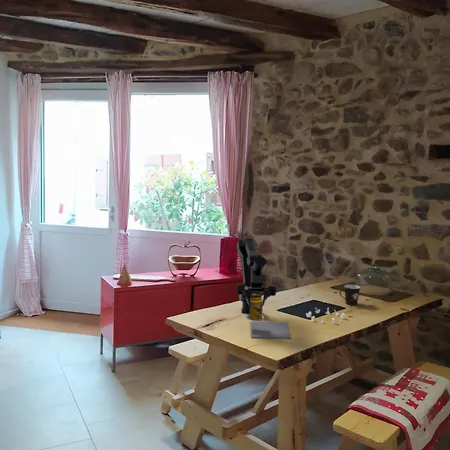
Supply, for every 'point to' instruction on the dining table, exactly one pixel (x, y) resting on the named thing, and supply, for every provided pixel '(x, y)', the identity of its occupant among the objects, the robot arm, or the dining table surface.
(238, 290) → the robot arm
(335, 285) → the dining table surface
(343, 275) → the dining table surface
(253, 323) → the rubber mat
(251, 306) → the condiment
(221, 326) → the dining table surface
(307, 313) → the game piece set
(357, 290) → the coffee mug
